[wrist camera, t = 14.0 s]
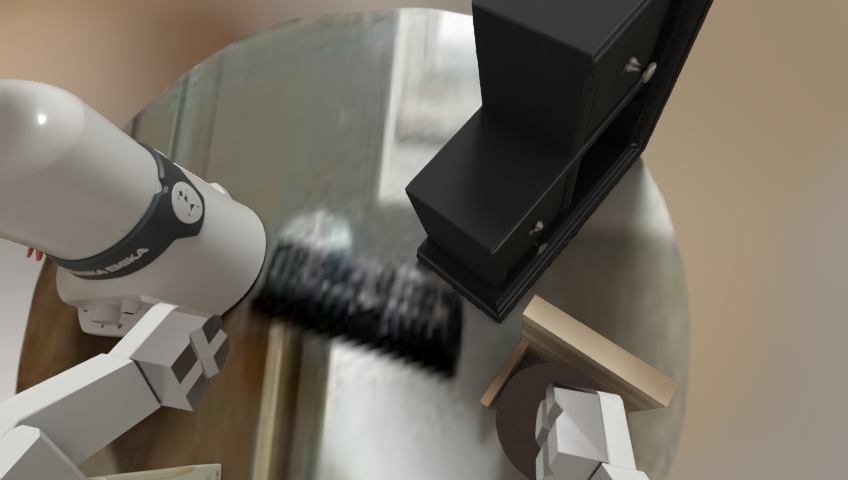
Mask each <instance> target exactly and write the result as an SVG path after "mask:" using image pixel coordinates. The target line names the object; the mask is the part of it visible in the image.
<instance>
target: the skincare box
mask: <svg viewBox="0 0 848 480" xmlns="http://www.w3.org/2000/svg"><path fill="white" fill-rule="evenodd" d="M221 467H222V466H221V464H203V465H191V466H183V467H174V468H166V469H158V470H150V471H141V472H132V473H124V474H115V475H107V476H98V477H89V478H88V479H89V480H221Z"/></svg>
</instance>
